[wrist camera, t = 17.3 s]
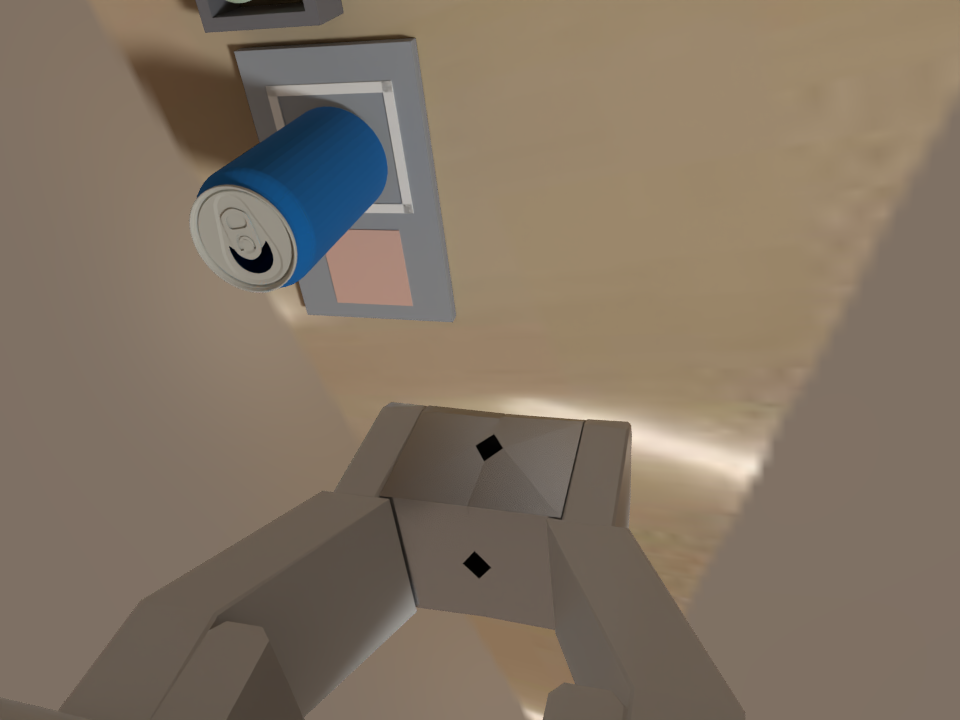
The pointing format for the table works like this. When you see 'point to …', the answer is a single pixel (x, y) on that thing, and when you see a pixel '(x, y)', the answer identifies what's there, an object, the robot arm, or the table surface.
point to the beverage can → (288, 199)
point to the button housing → (265, 14)
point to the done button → (238, 1)
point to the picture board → (410, 181)
